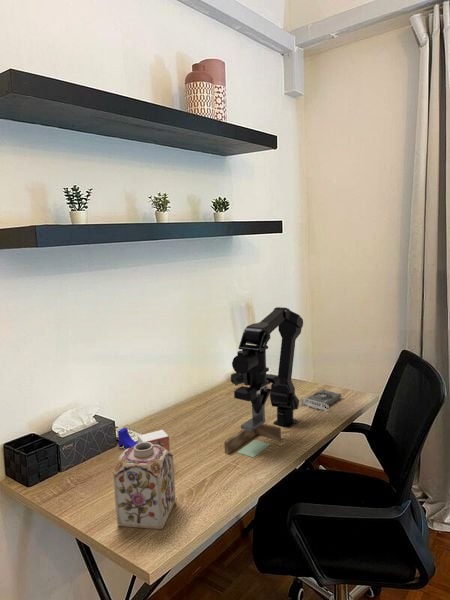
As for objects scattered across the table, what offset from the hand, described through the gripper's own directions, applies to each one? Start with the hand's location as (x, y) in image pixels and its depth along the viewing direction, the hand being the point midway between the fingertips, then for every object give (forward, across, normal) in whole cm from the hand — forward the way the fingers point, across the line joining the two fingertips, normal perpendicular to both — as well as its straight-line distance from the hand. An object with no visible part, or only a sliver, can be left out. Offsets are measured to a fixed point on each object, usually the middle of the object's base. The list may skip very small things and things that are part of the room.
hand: (258, 412), depth 147 cm
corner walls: (+11, +2, -1) cm, 11 cm away
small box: (+11, +30, -18) cm, 36 cm away
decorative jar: (+11, +46, -4) cm, 48 cm away
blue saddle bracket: (+11, +23, -32) cm, 41 cm away
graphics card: (+12, -44, +3) cm, 46 cm away
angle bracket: (+3, +3, 0) cm, 5 cm away
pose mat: (+11, +4, 0) cm, 12 cm away
